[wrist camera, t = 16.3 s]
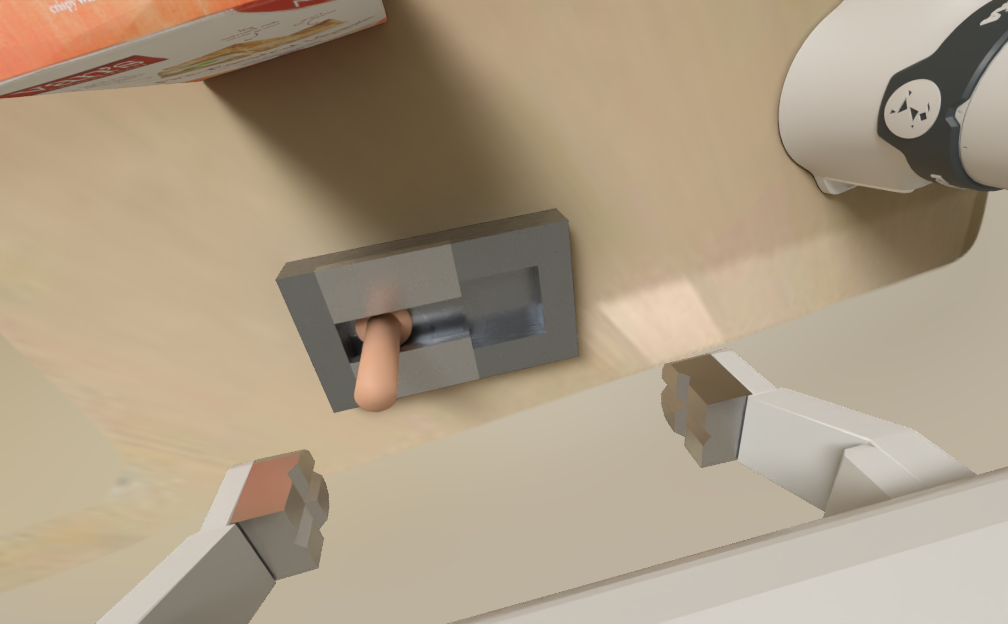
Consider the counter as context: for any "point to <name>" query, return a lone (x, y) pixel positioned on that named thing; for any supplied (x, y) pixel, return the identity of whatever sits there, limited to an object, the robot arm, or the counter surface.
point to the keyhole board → (441, 303)
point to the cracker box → (159, 39)
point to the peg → (380, 358)
